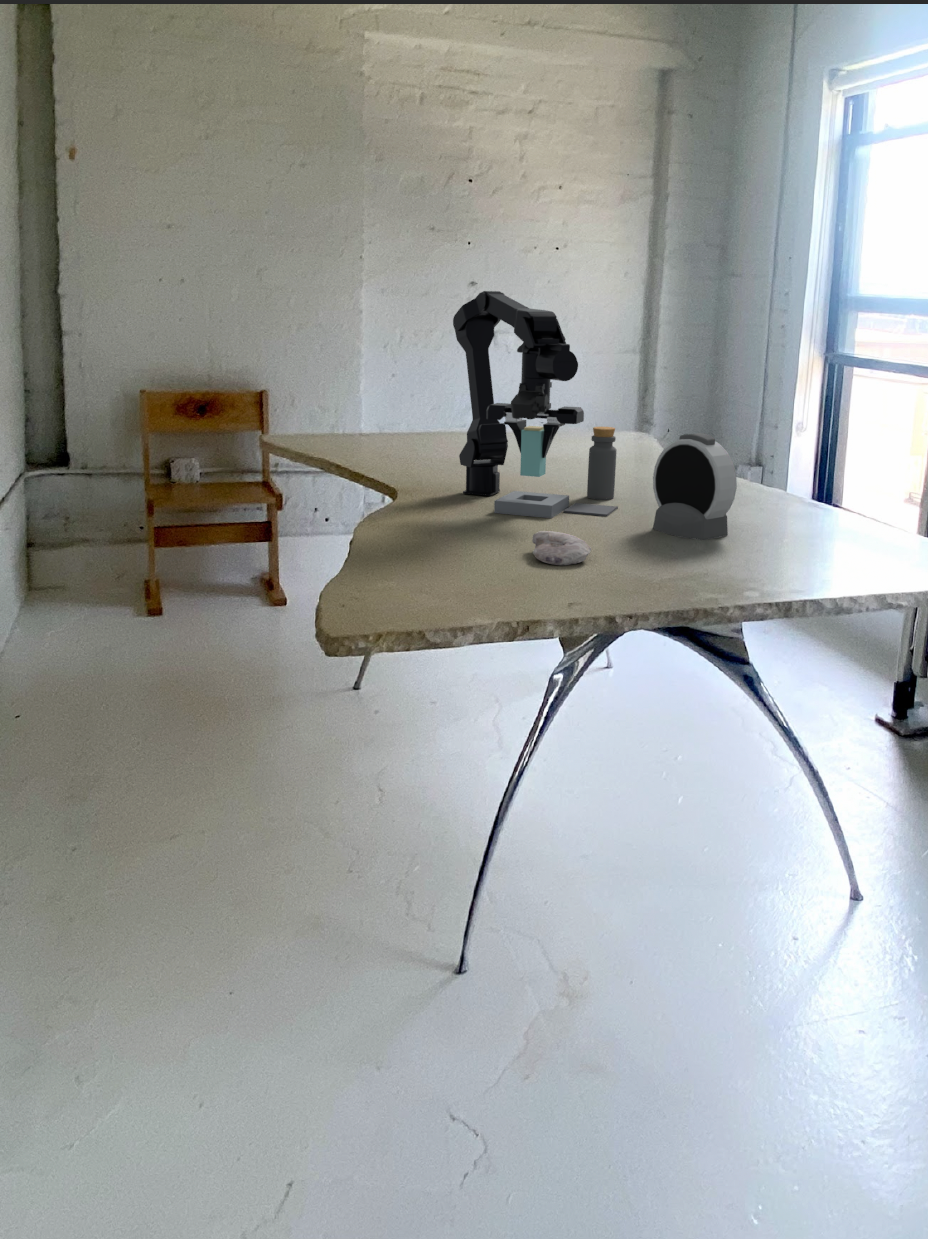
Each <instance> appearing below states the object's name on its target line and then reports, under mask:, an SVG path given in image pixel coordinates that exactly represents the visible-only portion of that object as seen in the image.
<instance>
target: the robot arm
mask: <svg viewBox="0 0 928 1239" xmlns="http://www.w3.org/2000/svg"><path fill="white" fill-rule="evenodd" d="M557 317H558V316H557V315H556V313H554V312H553V311H550V310H545V309H538V308H537V309H536V308H530V307H528V306H526V305H524V304H522V303H520V302H518V301H516V300H515V299H513V298H511V297H509V296H507V295H505V293H504V292H501V291H499V290H498V291H497V290H483V291H481V292H479V293H478V295H477V296H476V297H474V298H473V299H471V300H470V301H468V302H466V303H464V304H462V305H461V306H460V308H459V309H458V310H457V311H456V313H455V314H454V316H453V318H452V325H453V328H454V331H455V338H456V340H457V342H458V344H459V345H460V347H461V348H462V349H463V351H464V352H465V360H466V368H467V379H468V386H469V387H468V388H469V396H470V404H471V418H472V421H471V422H470V425H469V428H468V430H467V432H466V443H465V445H464V446H463V448H462V450H461V452H460V453H459V455H458V457H459V464H460V466H464V467H465V468H466V470H465V471H466V472H465V473H466V474H465V490H463V491H462V494H464V495H474V496H475V495H476V496H486V497H487V496H488V497H491V496H493V495H496V494H497V493H500V492H501V490H500V484H501V483H500V480H501V479H500V478H501V477H500V476H501V473H500V471H499V470H498V469H499V468H498V467H499V466H504V465H505V461H506V457H507V453H508V452H507V451H508V447H509V444H508V443H509V440H508V437H507V426H508V427H509V428H510V429H511V430H512V432H513V434H514V437H515V440H516V443H517V446H518V450H519V453H520V454H521V433H522V430H524V428H525V427H527V420H534V419H545V420H546V421H547V422H545V423H544V424H542V427H543V428H544V438H543V447H542V458H545V457H546V458H547V455H548V453H549V450H550V448H551V444H552V442H553V441H554V438H555V436H556V434H557V432H559V431H558V430H559V429H560V427H562V426H565V425H577V424H580V423H583V422H584V419H585V412H584V410H583V408H582V407H580V406H562V407H559V408H557V409H551V408H552V403H550V401H551V388H553V387H552V386H553V385H552V384H553V382H552V381H551V380H553V381H559V382H568V381H570V380H572V379H573V378H575V376H576V374H577V372H578V369H579V362H578V359H577V357H576V355H575V354H574V352H573V351H571V345H570V344H569V343H567V342H566V337H565V335H564V334H563V333H564V332H563V331H562V328H561V325H560V323H559V319H558V318H557ZM501 321H503V323H505V324H507V325H509V326H511V327H512V328H513V333H514V335H515V336H516V337H517V338H519V340H521V341H522V342H523V343H522V344H520V345H519V346H518V348H517V350H516V352H517V353H521V376H520V377H521V380H520V383H519V386H518V391H517V394H515V396H514V397H513V398H512V400H511V401H510V403H509V402H508V403H503V402H496V403H495V400H494V392H493V391H494V390H493V381H492V374H491V372H492V371H491V363H490V362H491V361H490V353H489V349H490V346H491V344H492V342H493V340H494V337H495V327H496V326H497V325H498V324H499V323H500V322H501ZM503 418H505V421H503V422H500V421H501V420H502V419H503ZM506 425H507V426H506Z"/></svg>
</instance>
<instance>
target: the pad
mask: <svg viewBox="0 0 928 1239" xmlns="http://www.w3.org/2000/svg"><path fill="white" fill-rule="evenodd" d="M618 508H619V506H615V505H607V504H606V505H605V504H592V503H581V502H575V503H573V504H571V505H569V507H568V508H567V509H565V510H564V511H562V512H563V513H566V514H575V515H576V514H578V515H587V516H596V517H597V516H599V517H608V516H609V515H611V514H612V513H614V512H615V511H616V510H618Z"/></svg>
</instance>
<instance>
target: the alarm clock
mask: <svg viewBox="0 0 928 1239" xmlns="http://www.w3.org/2000/svg"><path fill="white" fill-rule="evenodd" d="M652 475H653V476H652V487H653V488H652V489H653V490H652V491H653V493H654V497H655V501H656V503H657V506H658V508H657V509H656V510H655V516H654V521H653V527H652V529H653V530H656V531H658V532H660V533H663V534H667V535H670V536H675V537H681V538H686V539H692V540H698V541H706V540H712V539H716V538H721V537H728V534H729V533H728V532H729V529H728V515H727V513H728V512H729V510H731V507H732V505H733V503H734V501H735V499H736V498H735V496H736V493H737V484H738V483H737V481H738V480H737V471H736V469H735V464H734V462H733V460H732V457H731V456H730V453H728V451H727V450H726V449H725V448H724V447H723V446H722V445H721V444H720V443H719V442H717V441H716V439H715V438H714V437H713V436H712V435H710V434H707V433H703V432H695V433H686V434H681V435H680V436H679V439H678V440H675V441H673V442H671V443H669V444H668V445H667V446H665V448H663V450H662V451H661V452H660V454H659V455H658V458H657V460H656V463H655V464H654V469H653V474H652Z"/></svg>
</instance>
